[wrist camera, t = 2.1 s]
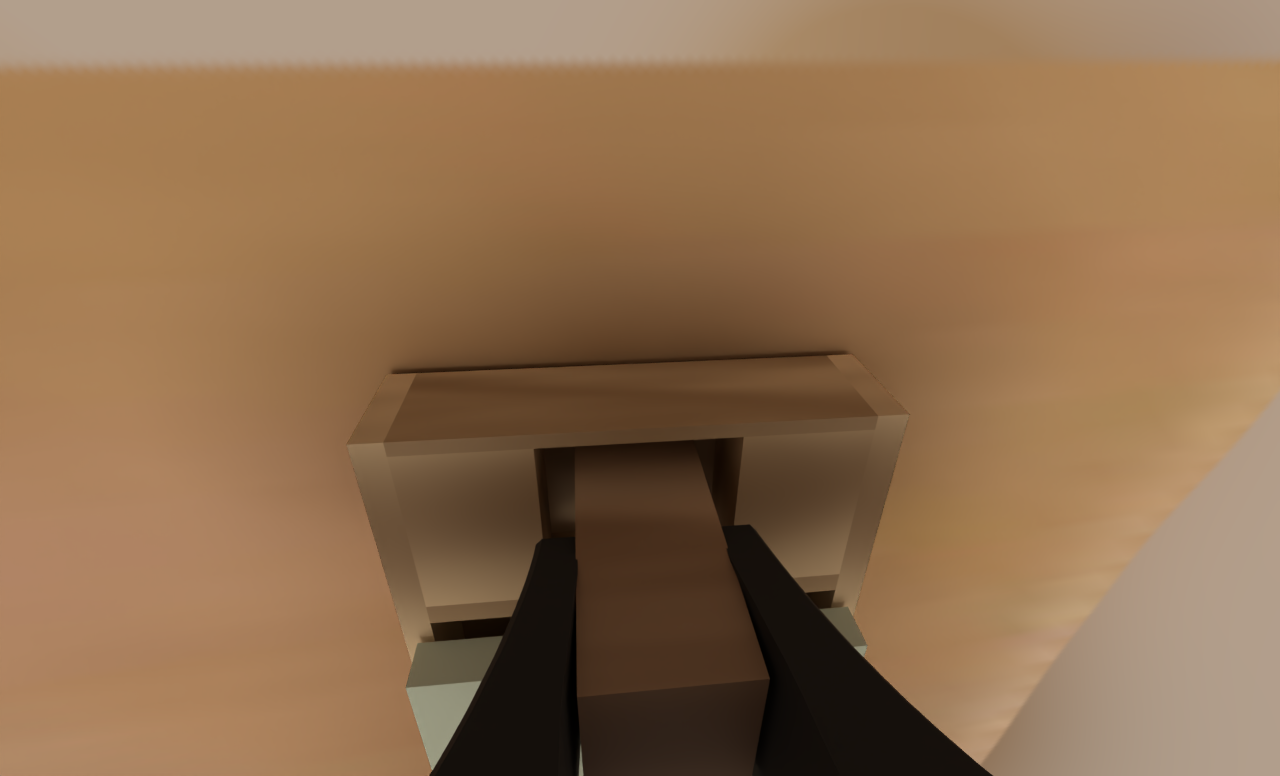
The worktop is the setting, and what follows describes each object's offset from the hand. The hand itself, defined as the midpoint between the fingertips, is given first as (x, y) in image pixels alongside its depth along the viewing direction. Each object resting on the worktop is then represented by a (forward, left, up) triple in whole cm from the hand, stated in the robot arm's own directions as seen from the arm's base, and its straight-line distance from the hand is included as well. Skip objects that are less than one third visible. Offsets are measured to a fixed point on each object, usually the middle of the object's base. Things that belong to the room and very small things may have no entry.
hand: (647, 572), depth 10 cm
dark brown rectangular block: (0, 0, -3) cm, 3 cm away
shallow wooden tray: (-8, 0, -4) cm, 9 cm away
